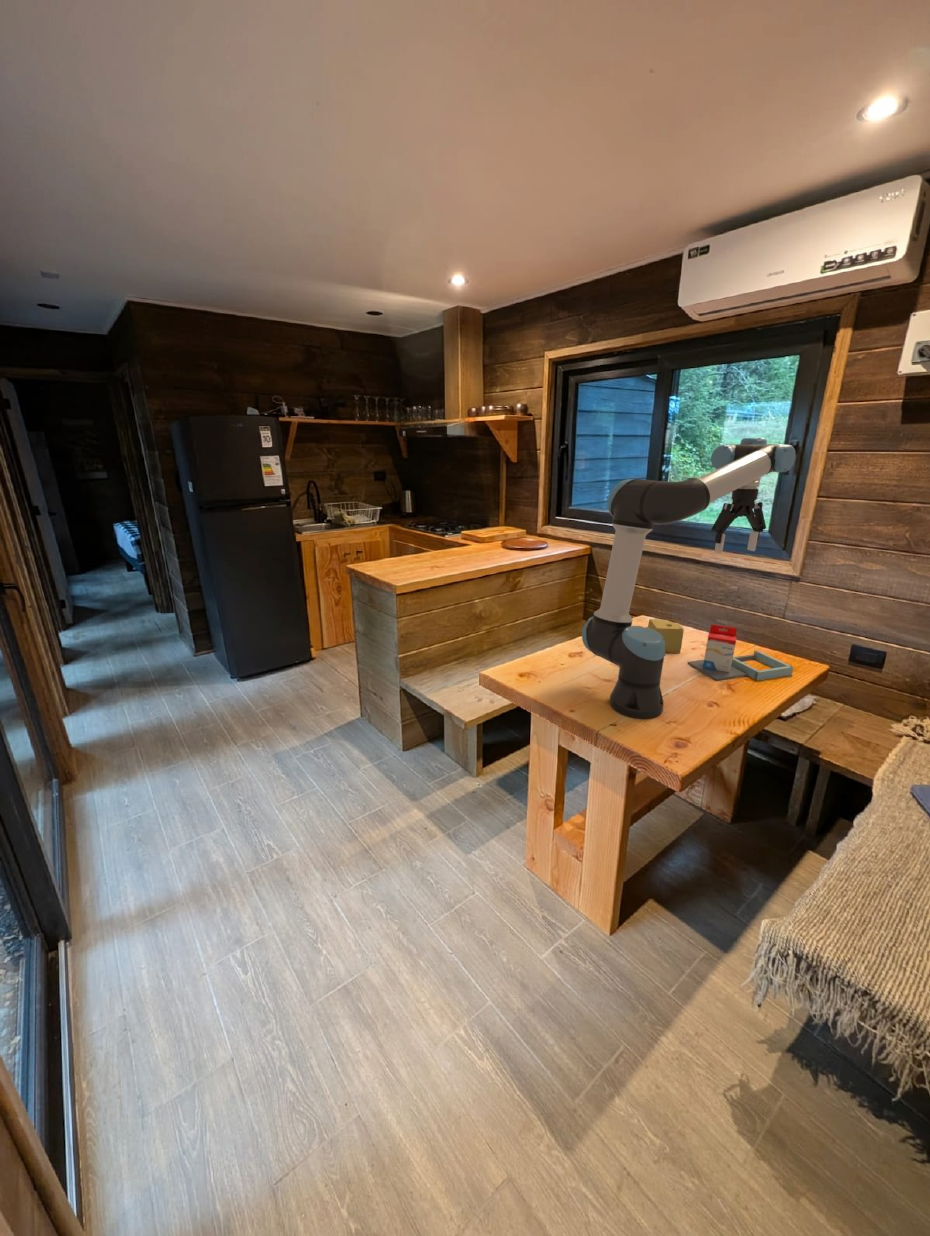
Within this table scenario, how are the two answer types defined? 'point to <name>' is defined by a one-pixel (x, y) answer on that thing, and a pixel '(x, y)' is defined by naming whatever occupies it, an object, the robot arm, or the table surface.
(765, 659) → the open picture frame
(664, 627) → the cheese
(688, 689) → the table surface
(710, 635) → the ink box
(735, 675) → the slate pad
